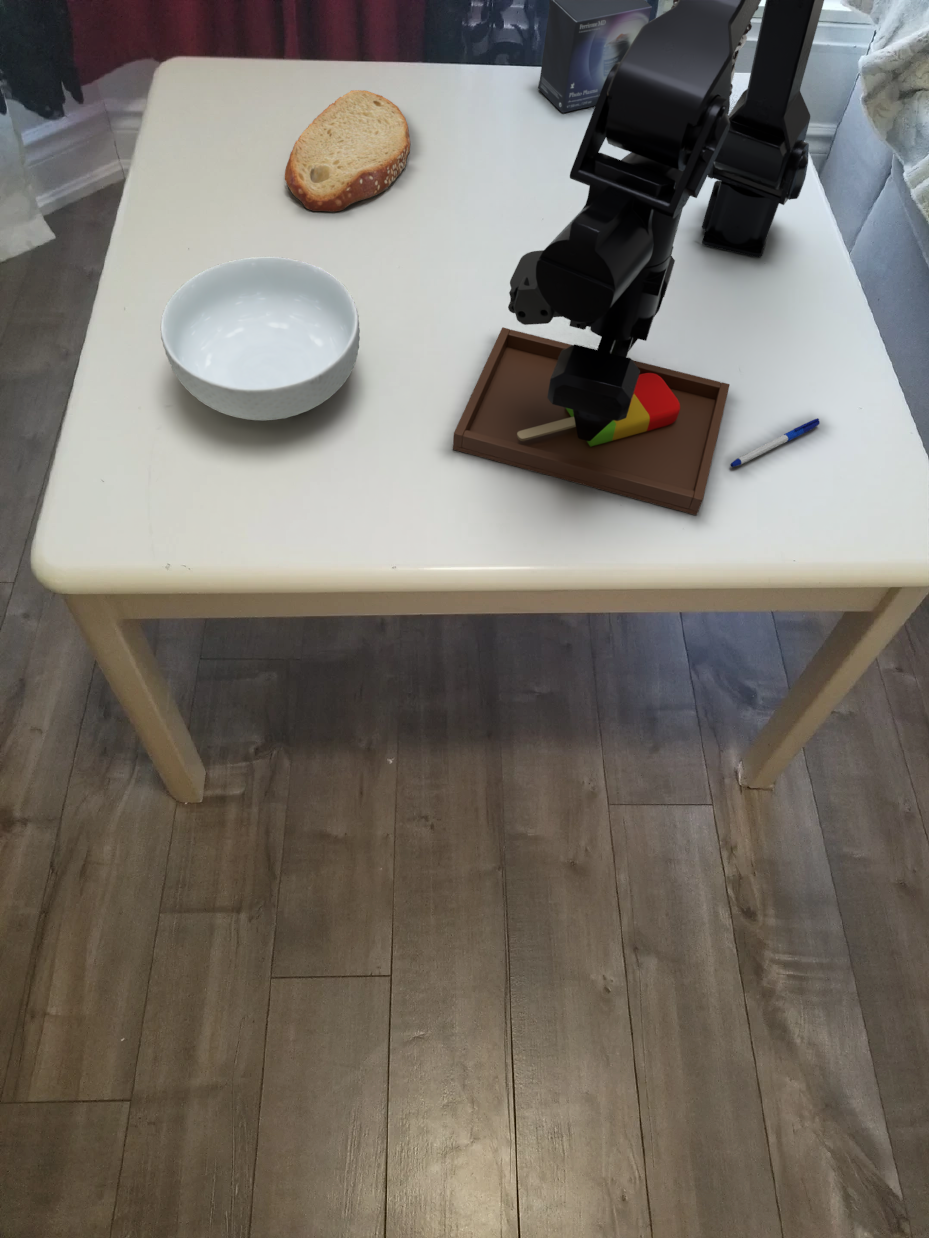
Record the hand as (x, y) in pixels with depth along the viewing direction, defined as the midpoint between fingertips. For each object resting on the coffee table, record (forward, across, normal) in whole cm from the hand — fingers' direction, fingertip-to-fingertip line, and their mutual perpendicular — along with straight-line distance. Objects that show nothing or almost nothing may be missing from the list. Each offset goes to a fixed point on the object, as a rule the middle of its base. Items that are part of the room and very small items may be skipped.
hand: (596, 402), depth 80 cm
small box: (+3, -55, -14) cm, 57 cm away
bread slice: (+3, -31, -36) cm, 48 cm away
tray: (+3, 0, 0) cm, 3 cm away
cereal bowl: (+3, +5, -29) cm, 30 cm away
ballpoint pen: (+3, -3, +16) cm, 17 cm away
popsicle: (+2, 0, 0) cm, 2 cm away
